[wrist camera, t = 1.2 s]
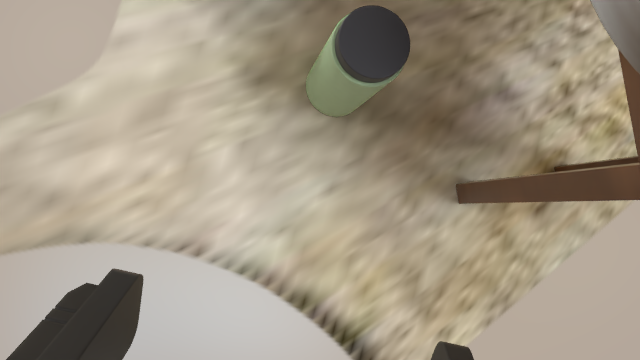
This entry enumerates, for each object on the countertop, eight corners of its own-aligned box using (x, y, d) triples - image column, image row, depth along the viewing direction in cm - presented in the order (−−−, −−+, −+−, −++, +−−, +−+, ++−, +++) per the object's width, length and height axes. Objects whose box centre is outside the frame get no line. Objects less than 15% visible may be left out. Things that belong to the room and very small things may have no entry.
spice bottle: (301, 61, 36) (328, 5, 26) (358, 54, 36) (406, -3, 27) (311, 120, 35) (342, 87, 26) (368, 112, 36) (420, 77, 26)
